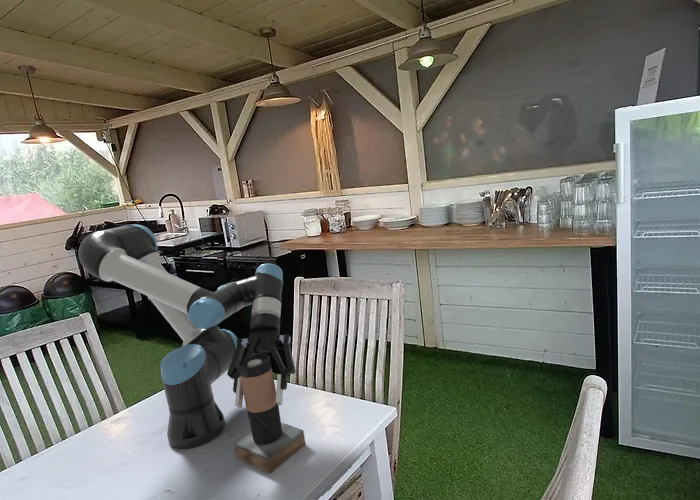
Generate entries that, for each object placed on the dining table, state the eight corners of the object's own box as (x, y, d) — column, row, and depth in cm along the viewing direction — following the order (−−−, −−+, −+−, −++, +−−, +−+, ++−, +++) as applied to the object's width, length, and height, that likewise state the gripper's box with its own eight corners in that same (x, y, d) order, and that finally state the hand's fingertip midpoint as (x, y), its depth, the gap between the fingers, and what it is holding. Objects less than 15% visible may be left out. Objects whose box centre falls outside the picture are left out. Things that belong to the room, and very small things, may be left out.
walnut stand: (237, 457, 109) (234, 443, 109) (273, 431, 119) (270, 418, 118) (269, 473, 102) (267, 457, 101) (305, 444, 111) (303, 430, 110)
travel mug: (278, 444, 106) (264, 366, 102) (247, 446, 107) (233, 369, 103) (286, 426, 113) (273, 352, 109) (257, 427, 114) (244, 355, 110)
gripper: (309, 320, 119) (307, 406, 107) (231, 327, 122) (220, 412, 109) (303, 307, 113) (300, 396, 100) (220, 315, 115) (207, 404, 103)
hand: (258, 405), depth 105 cm, fingers open, 9 cm apart
